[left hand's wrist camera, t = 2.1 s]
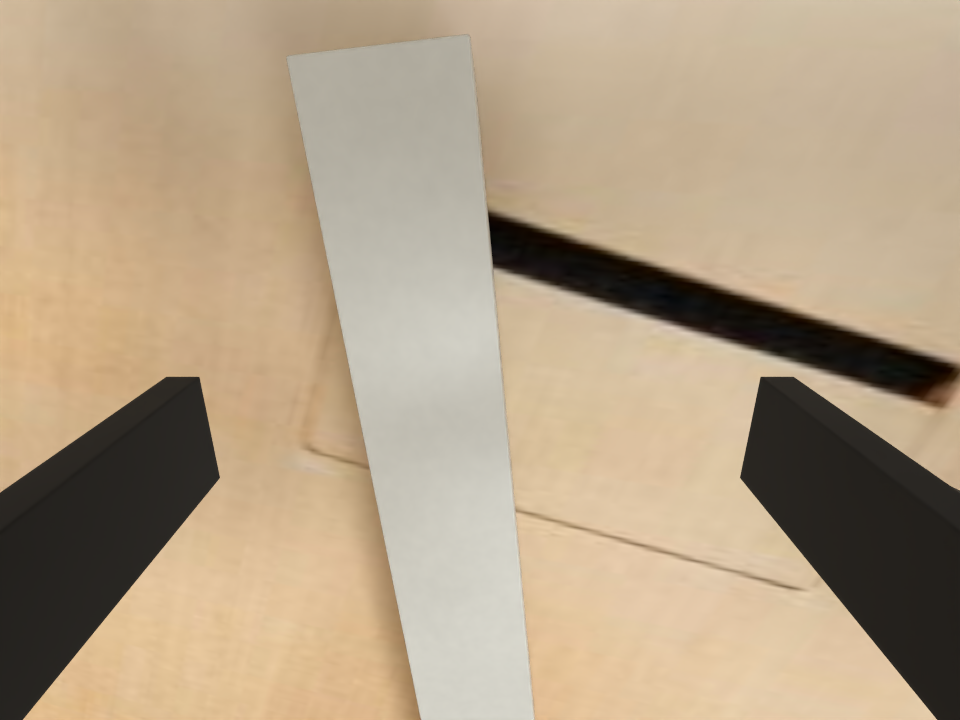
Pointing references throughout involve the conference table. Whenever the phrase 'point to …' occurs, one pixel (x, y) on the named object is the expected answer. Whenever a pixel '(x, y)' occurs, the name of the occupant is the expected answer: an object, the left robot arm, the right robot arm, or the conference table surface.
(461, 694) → the post
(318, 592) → the conference table surface
